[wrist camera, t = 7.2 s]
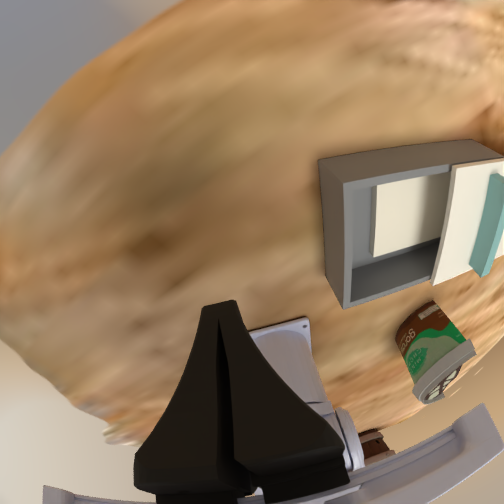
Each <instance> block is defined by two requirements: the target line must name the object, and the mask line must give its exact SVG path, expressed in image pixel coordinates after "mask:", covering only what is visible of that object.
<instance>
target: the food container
mask: <svg viewBox="0 0 504 504" xmlns="http://www.w3.org/2000/svg"><path fill="white" fill-rule="evenodd" d="M396 343H397V345H398V347H399V349H400V351H401V354H402V356H403V358H404V360H405V363H406V365H407V367H408V370H409V372H410V374H411V377H412V379H413V382H414V384H415V386H414V387H413V390H412V392H413V394H414V395H415V396H416V398H417V399H418V400H419V401H421V402H422V403H423V404H430V403H433V402H436V401H438V400H440V399H442V398H444V397H445V396H444V394H443V391H444V389H445V388H446V386H447V385H448V384H449V383H450V382H451V381H452V380H454V379H455V378H456V376H457V375H458V373H459V371H460V369H461V366H462V364H463V363H465V362H466V361H468V360H469V359H470V358H472V357H474V356H475V355H477V354H476V352H475V351H474V349H475V348H474V346H473V344H472V342H471V340H470V339H468V340H466V339H465V338H464V337H463V335H462V334H461V333H460V332H459V330H458V329H457V328H456V327H455V325H454V324H453V323H452V322H451V321H450V319H449V318H448V317H447V316H446V315H445V313H444V312H443V311H442V310H441V309H440V307H439V306H438V305H437V304H436V303H435V302H434V301H431V302H429V303H427V304H425V305H424V306H422V307H421V308H419V309H418V310H416V311H415V312H414V313H413V314H412V315H411V316H409V317H408V318H407V319H406V321H405V322H404V323H403V324H402V325H401V327H400V328H399V330H398V331H397V334H396Z"/></svg>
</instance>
